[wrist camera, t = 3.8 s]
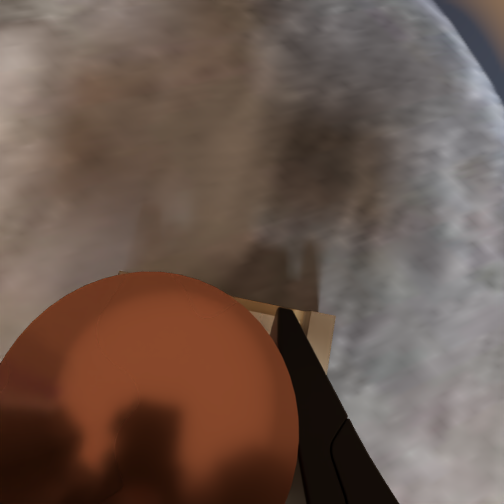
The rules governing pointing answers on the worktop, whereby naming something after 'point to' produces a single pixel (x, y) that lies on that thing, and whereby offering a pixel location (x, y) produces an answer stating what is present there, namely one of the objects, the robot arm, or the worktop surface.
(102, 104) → the worktop surface
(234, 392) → the knobbed slide block
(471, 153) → the worktop surface
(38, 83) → the worktop surface
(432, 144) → the worktop surface
